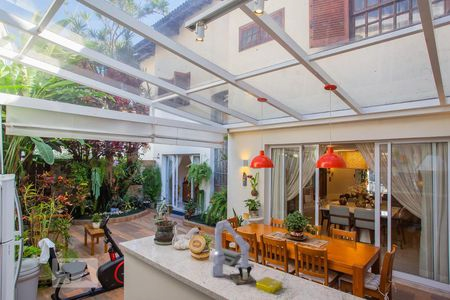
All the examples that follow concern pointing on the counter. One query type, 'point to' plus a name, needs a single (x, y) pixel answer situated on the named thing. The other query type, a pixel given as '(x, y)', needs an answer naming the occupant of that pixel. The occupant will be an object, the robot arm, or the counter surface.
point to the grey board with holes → (239, 281)
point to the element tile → (269, 285)
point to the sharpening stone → (230, 257)
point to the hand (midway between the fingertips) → (244, 277)
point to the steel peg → (244, 276)
